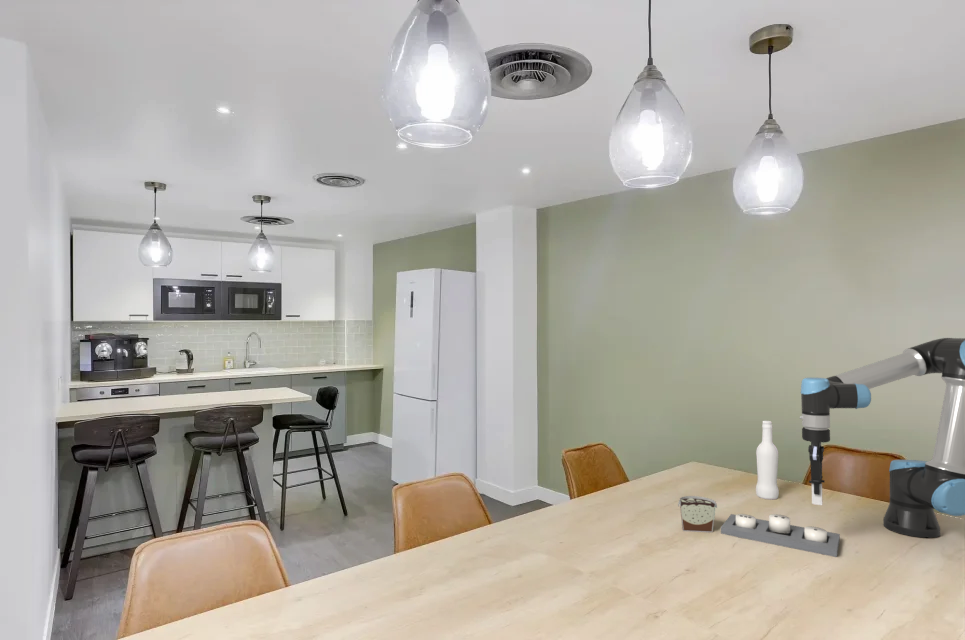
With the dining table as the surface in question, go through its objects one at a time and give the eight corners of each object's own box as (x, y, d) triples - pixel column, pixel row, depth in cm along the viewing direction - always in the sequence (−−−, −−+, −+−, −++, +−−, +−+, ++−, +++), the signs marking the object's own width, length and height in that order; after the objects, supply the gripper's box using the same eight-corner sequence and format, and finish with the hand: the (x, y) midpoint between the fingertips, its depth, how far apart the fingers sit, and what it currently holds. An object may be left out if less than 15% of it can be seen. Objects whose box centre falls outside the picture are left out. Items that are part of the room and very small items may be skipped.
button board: (839, 540, 179) (839, 533, 180) (836, 557, 166) (836, 550, 166) (731, 519, 198) (731, 514, 198) (720, 533, 185) (720, 527, 185)
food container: (711, 525, 192) (711, 496, 192) (717, 532, 185) (717, 501, 186) (673, 524, 193) (674, 494, 193) (678, 530, 187) (678, 500, 187)
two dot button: (791, 529, 183) (791, 516, 183) (788, 534, 178) (788, 521, 178) (770, 525, 186) (770, 512, 186) (767, 530, 181) (767, 517, 181)
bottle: (782, 500, 221) (782, 422, 221) (761, 499, 221) (761, 422, 221) (772, 494, 229) (772, 419, 229) (752, 493, 229) (752, 419, 229)
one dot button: (827, 542, 177) (827, 528, 177) (826, 548, 172) (826, 534, 172) (805, 537, 181) (805, 524, 181) (803, 543, 176) (803, 530, 176)
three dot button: (757, 528, 188) (757, 515, 189) (753, 533, 184) (753, 520, 184) (737, 524, 192) (737, 512, 192) (733, 529, 187) (733, 517, 187)
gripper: (804, 423, 184) (805, 496, 184) (799, 430, 173) (801, 507, 173) (831, 425, 180) (832, 500, 180) (828, 432, 169) (830, 511, 169)
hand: (817, 503), depth 176 cm, fingers closed
